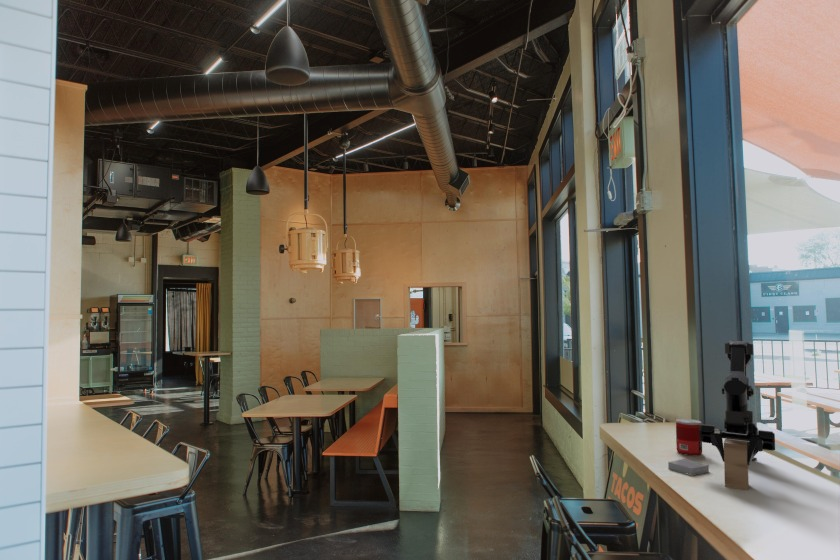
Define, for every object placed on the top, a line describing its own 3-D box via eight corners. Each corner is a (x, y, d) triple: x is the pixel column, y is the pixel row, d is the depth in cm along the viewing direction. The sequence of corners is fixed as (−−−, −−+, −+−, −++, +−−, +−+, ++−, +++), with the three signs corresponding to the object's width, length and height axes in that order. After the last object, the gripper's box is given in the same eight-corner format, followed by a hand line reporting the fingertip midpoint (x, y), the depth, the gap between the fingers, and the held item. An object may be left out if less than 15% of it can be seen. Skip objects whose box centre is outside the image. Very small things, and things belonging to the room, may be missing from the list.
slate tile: (684, 466, 172) (684, 458, 173) (708, 473, 165) (708, 465, 166) (668, 470, 168) (668, 462, 169) (692, 477, 161) (692, 468, 162)
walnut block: (726, 481, 156) (725, 439, 157) (748, 484, 153) (747, 441, 154) (724, 486, 151) (723, 442, 152) (747, 490, 148) (746, 445, 149)
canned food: (705, 456, 183) (704, 423, 184) (679, 455, 185) (679, 422, 185) (698, 450, 191) (697, 419, 191) (674, 449, 192) (673, 418, 193)
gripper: (699, 396, 162) (695, 441, 152) (773, 402, 152) (775, 451, 142) (702, 419, 168) (699, 463, 158) (774, 426, 158) (776, 474, 148)
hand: (735, 462), depth 151 cm, fingers closed on walnut block, 5 cm apart
